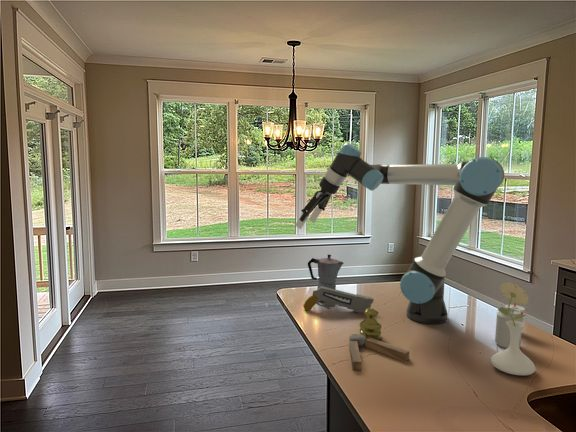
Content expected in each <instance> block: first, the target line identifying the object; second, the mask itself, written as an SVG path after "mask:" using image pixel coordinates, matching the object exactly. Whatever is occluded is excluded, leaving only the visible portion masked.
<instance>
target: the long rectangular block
mask: <svg viewBox="0 0 576 432" xmlns="http://www.w3.org/2000/svg"><path fill="white" fill-rule="evenodd" d="M365 348H367V349H370V350H373V351H375V352H378V353H381V354H383V355H385V356H389V357H392V358H395V359H396V360H399V361H402V362H407V361H409V360H410V350H407V349H404V348H403V347H402V348H401V347H398V346H396V345H393V344H389V343H387V342H384V341H381V340H380V339H379V340H376V339H373V338H368V339H367V340H366V342H365Z"/></svg>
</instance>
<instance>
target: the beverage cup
mask: <svg viewBox="0 0 576 432" xmlns="http://www.w3.org/2000/svg"><path fill="white" fill-rule="evenodd" d="M508 306H509V304H506V305H504V308H508ZM509 308H513V309H517V310H519V311H520V312H521V315H524V313H525V311H526V308H525V307H524V306H521V305H518V304H516V303H513V304H512V303H510V307H509Z"/></svg>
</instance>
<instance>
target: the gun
mask: <svg viewBox="0 0 576 432" xmlns="http://www.w3.org/2000/svg"><path fill="white" fill-rule="evenodd" d="M318 299H320V300H323V301H325V302H323V304H321V303H319V300H318ZM374 301H375V299H374V298H373V297H370V296H365V295H362V294H358V293H356V294H354V293H351V292H347V291H344V290H343V291H342V290H338V289H336V290H335V289H331V288H327V287H322V286H321V287H320V288H319V289H318V290H317V289H314V290H312V295H311V296H309V297H308V298H307V299H306V300H305V302H304V304H303V309H304V311H306V312H311V310H312V308H313V307H314V306H316V305H317V306H319V307H322V308H325V309H328V310H330V309H331V308H335V307H336V306H339V307H343V308H345V309H347V310H352V311H354V312H356V313H359V314H364V310H365V309H368V308H372V307H371V306H372V304H373V303H374Z"/></svg>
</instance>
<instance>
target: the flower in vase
mask: <svg viewBox="0 0 576 432" xmlns="http://www.w3.org/2000/svg"><path fill="white" fill-rule="evenodd" d="M499 290H500V292H502V295H503V296H504V297H505V298H506V299H507V300H508V301H509V303H508V305H509V306H508V310H506V309H505V306H504V307H503V306H500V307H499V308H498V309H497V312H499V311H500V312H502V313H504V314H506V315H508V314H510V316H511V313H510V310H509V307H510V304H512V303H513V304H514V303H516V305H518V306H521V305H522V306H523V305H528V303H529V300H530V299H529V295H527V291H526V290H524V288H522V287H520V286H519V284H516V283H515V284H514V283H513V282H509V281H507V282H503V283H502V284H500V288H499ZM526 315H527V314H523V315H518V316H516V317H514V318H512V316H511V319H512V321H507V322H506V324H507V325H508V327H509V330H510V345H509V347H508V348H507V349H505V348H504V349H503V350H501V351H498V352H497V353H494V354H493V355H492V356H491V359H490V362H491V364H492V365H493V367H495V368H496V369H497V370H499V371H502V372H504V373H506V374H510V375H512V376H513V375H514V376H529V375H530V376H531V375H533V374H534V373H535V372H536V368H537V367H536V366H535V364H534V362H533V361H532V360H531V359H530V358H529V357H528V356H527V355H525V354H524V353H523V352H522V351H521V349H520V347H519V338H520V334H521V332H522V331H523V330H524V329H525V328H526V326H527V325H526V324H525V323H524V322H518V321H514V320H513V319H519V318H522V317H523V318H524V317H525V316H526ZM522 333H523V332H522Z"/></svg>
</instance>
